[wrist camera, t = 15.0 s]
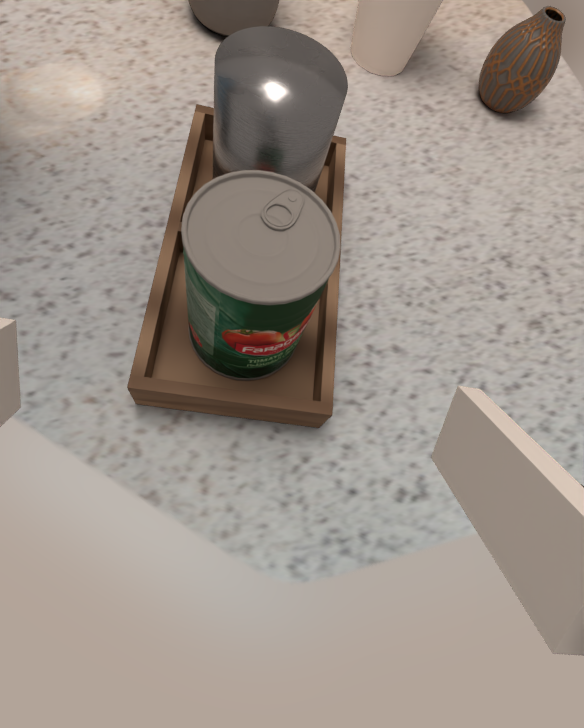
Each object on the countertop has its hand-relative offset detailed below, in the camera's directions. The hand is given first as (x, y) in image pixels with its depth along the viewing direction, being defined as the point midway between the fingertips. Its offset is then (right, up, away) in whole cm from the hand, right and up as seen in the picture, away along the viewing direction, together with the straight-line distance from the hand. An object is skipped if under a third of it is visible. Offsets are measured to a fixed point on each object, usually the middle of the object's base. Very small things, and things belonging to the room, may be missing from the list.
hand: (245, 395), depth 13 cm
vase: (+24, +30, +36) cm, 53 cm away
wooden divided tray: (-2, +9, +21) cm, 23 cm away
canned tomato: (-2, +3, +18) cm, 19 cm away
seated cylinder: (-1, +14, +24) cm, 27 cm away
